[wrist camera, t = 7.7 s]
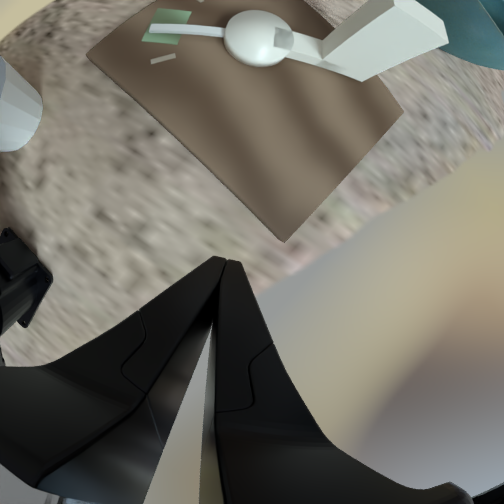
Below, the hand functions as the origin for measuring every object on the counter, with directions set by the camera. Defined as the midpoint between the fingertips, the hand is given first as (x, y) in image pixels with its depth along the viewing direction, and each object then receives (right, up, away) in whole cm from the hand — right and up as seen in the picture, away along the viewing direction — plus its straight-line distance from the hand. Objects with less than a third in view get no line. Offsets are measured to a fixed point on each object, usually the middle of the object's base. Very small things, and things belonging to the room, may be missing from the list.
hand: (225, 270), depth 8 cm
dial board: (+1, +15, +10) cm, 18 cm away
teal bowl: (+25, +31, +12) cm, 41 cm away
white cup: (-18, +12, +6) cm, 23 cm away
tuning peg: (+1, +16, +8) cm, 18 cm away
